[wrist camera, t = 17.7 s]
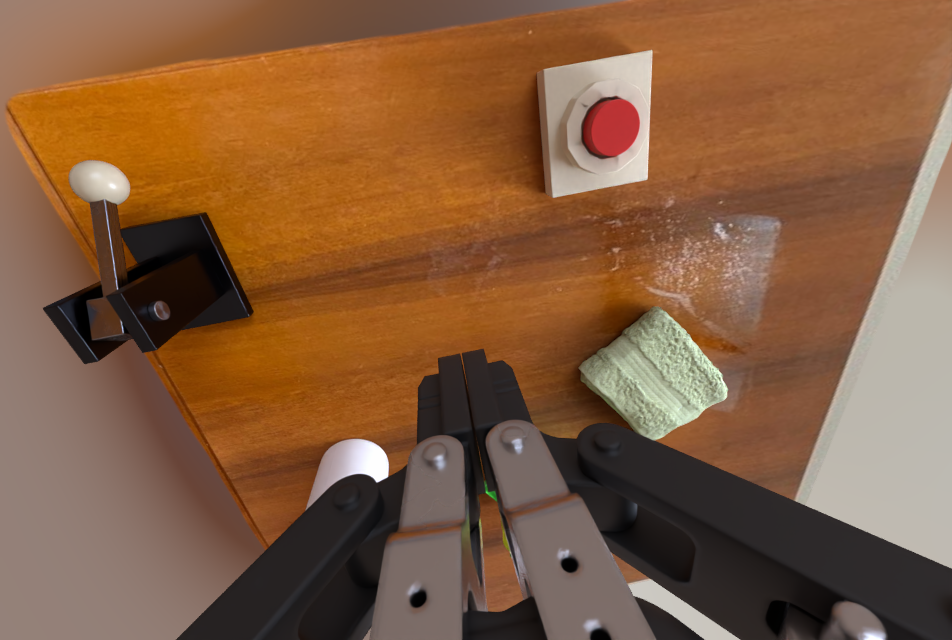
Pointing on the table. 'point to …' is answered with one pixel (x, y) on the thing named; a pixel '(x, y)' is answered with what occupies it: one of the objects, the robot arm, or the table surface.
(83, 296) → the bracket
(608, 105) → the button
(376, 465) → the cup
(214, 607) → the robot arm
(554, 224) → the table surface
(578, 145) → the button box
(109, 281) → the lever
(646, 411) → the washcloth
